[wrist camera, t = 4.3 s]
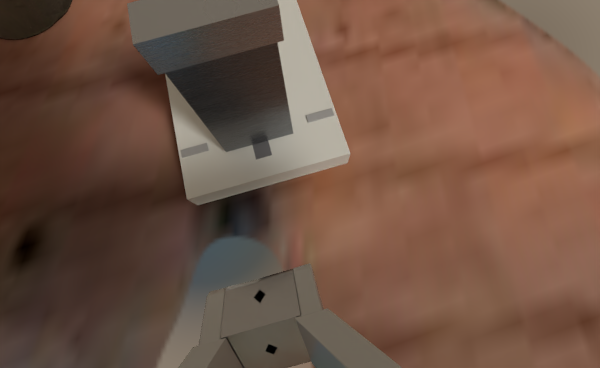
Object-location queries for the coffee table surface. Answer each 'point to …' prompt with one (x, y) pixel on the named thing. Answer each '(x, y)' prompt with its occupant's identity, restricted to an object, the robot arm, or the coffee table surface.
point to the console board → (273, 153)
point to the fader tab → (219, 63)
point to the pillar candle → (29, 16)
